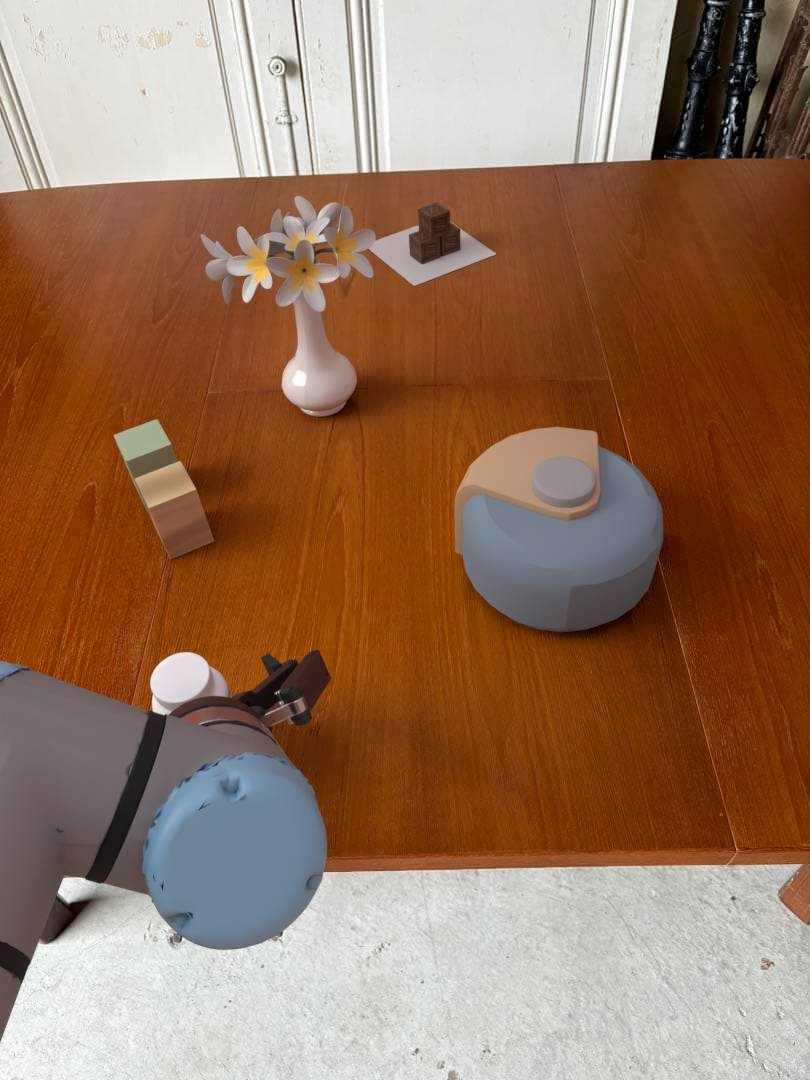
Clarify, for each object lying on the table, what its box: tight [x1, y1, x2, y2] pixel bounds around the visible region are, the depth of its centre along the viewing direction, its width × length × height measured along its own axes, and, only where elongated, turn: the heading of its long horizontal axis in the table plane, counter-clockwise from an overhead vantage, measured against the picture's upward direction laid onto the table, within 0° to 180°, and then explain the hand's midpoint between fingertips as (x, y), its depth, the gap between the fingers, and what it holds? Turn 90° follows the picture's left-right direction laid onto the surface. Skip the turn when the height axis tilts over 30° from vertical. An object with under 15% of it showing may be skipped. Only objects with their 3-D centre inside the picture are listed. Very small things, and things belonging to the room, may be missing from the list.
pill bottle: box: [149, 651, 233, 715], centre depth 68 cm, size 6×6×11 cm
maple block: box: [135, 460, 215, 560], centre depth 86 cm, size 5×5×8 cm
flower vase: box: [200, 195, 377, 418], centre depth 93 cm, size 13×18×25 cm
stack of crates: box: [367, 202, 497, 287], centre depth 124 cm, size 15×15×7 cm
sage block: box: [113, 418, 179, 514], centre depth 91 cm, size 5×5×8 cm
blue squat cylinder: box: [454, 426, 664, 633], centre depth 79 cm, size 19×20×12 cm
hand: (195, 705), depth 67 cm, fingers open, 13 cm apart
